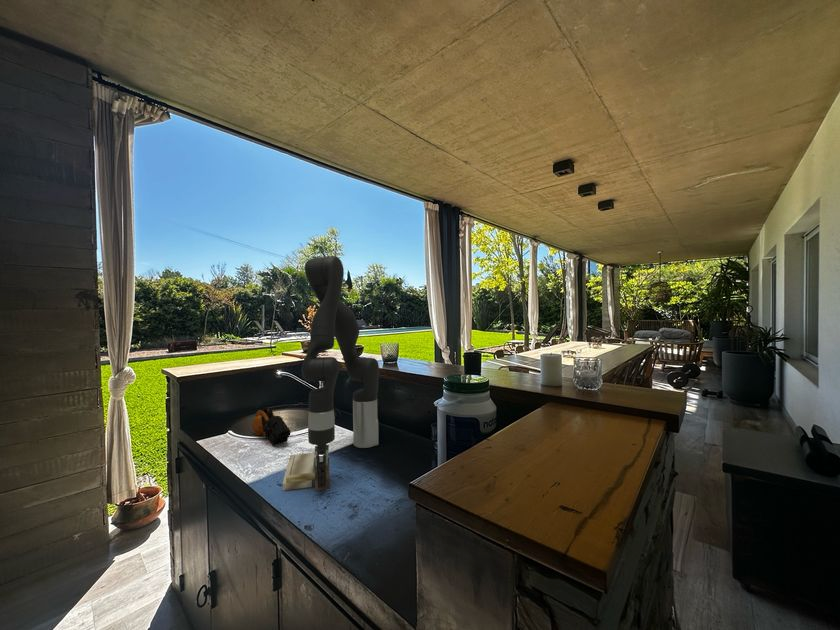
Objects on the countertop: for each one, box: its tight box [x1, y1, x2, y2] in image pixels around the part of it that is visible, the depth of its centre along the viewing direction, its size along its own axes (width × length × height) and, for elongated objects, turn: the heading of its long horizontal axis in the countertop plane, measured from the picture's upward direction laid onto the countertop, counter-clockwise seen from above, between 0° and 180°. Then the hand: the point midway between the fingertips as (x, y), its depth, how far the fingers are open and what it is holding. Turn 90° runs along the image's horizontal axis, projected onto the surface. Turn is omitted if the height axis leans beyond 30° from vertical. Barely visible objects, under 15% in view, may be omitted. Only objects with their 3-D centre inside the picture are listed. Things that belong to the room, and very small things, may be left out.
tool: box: [251, 406, 291, 447], centre depth 137 cm, size 8×23×15 cm, turn 46°
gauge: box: [286, 457, 330, 492], centre depth 100 cm, size 12×5×8 cm, turn 105°
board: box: [282, 451, 315, 492], centre depth 109 cm, size 8×20×2 cm, turn 15°
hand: (322, 480), depth 101 cm, fingers open, 7 cm apart
